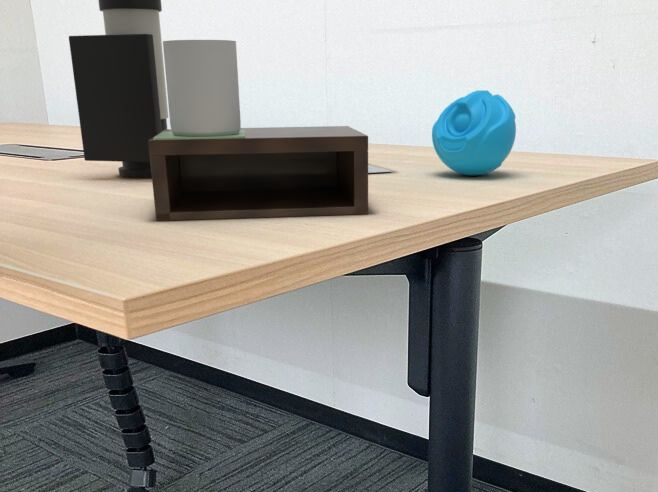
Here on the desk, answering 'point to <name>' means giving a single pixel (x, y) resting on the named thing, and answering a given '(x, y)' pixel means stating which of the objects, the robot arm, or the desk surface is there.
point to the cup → (202, 87)
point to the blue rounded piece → (475, 133)
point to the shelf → (260, 173)
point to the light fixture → (121, 85)
